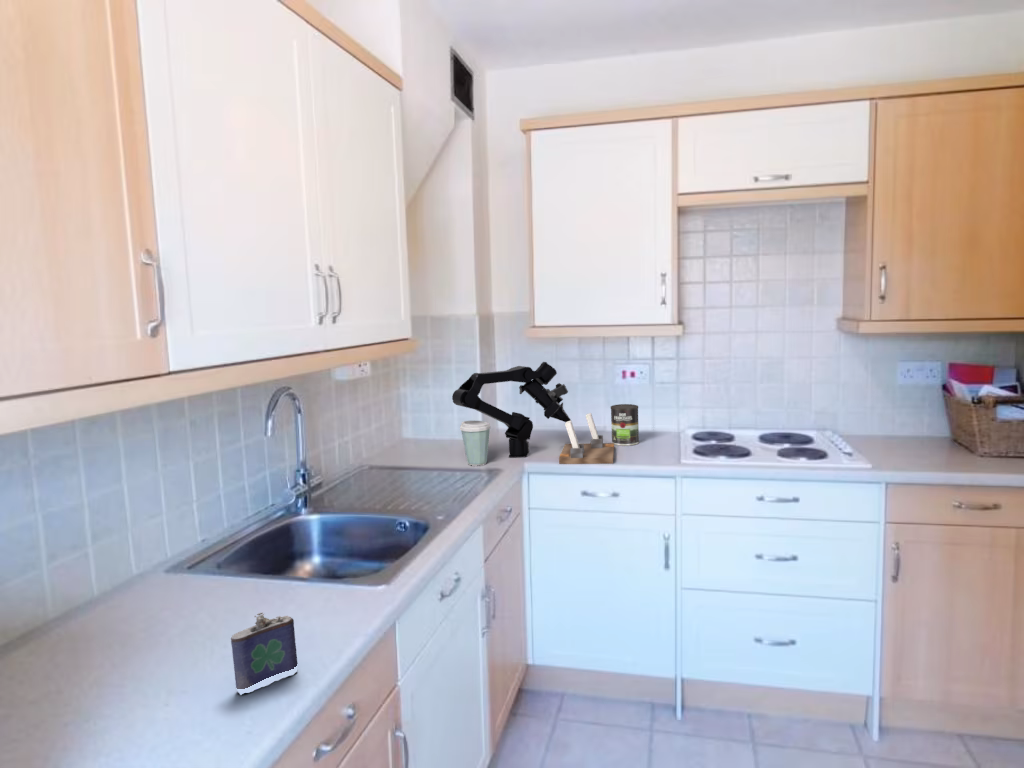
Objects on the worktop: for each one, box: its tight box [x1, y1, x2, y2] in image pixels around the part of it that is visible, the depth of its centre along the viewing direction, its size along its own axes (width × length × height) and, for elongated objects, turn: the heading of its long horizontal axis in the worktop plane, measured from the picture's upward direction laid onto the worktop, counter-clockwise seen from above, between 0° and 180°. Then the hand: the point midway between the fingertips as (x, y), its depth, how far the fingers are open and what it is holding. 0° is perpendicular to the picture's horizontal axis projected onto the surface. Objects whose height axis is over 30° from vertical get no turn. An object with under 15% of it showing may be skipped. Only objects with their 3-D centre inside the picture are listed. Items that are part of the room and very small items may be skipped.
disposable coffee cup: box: [459, 420, 491, 467], centre depth 226 cm, size 11×11×15 cm
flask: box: [230, 612, 299, 689], centre depth 99 cm, size 9×3×11 cm, turn 129°
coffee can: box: [610, 403, 640, 447], centre depth 246 cm, size 10×10×14 cm
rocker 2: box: [585, 412, 600, 439], centre depth 235 cm, size 2×4×12 cm, turn 170°
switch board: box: [558, 434, 615, 465], centre depth 229 cm, size 18×22×5 cm
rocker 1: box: [564, 420, 580, 448], centre depth 223 cm, size 2×4×12 cm, turn 170°
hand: (570, 422), depth 237 cm, fingers closed
